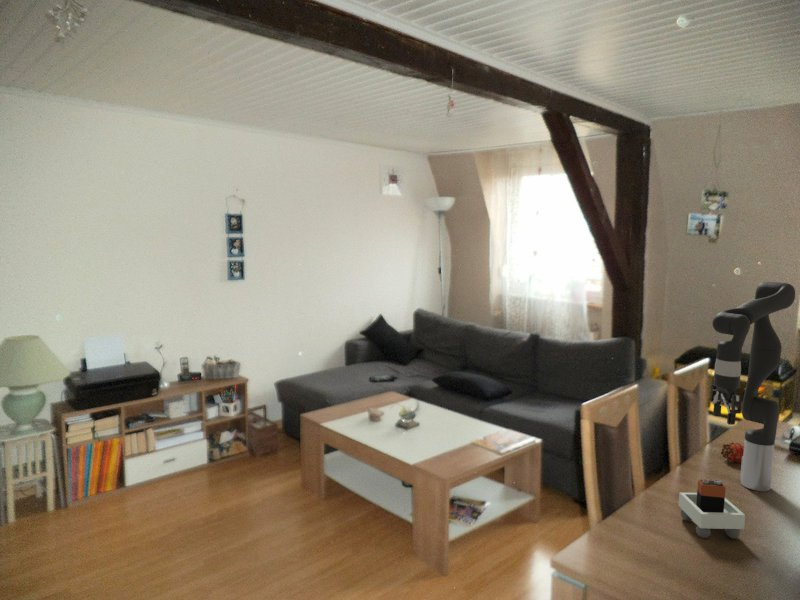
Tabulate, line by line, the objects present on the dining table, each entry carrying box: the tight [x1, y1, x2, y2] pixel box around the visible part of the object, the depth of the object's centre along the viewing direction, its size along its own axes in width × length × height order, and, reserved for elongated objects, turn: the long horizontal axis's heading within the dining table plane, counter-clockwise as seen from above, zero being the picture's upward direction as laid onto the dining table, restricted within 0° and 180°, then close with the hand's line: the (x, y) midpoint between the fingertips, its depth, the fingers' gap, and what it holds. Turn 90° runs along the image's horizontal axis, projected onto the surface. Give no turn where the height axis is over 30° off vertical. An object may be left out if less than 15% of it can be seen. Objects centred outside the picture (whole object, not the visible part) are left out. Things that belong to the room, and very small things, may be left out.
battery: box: [696, 478, 727, 513], centre depth 173 cm, size 4×7×10 cm, turn 77°
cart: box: [678, 491, 746, 540], centre depth 174 cm, size 14×13×8 cm
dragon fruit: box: [720, 442, 744, 464], centre depth 226 cm, size 8×8×12 cm
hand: (723, 419), depth 186 cm, fingers open, 8 cm apart
